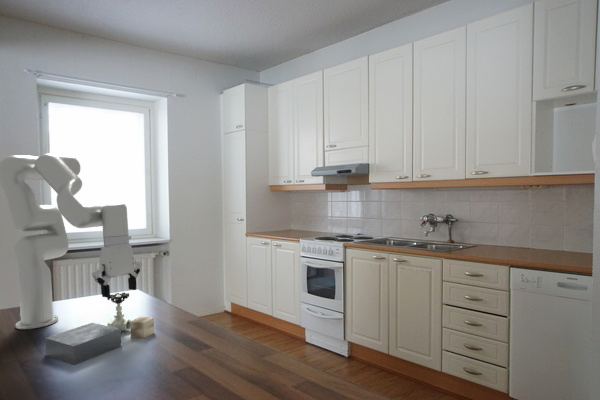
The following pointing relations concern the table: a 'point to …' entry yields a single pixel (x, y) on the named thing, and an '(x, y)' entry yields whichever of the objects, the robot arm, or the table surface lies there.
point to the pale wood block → (142, 327)
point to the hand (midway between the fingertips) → (119, 293)
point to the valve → (119, 313)
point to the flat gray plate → (82, 343)
